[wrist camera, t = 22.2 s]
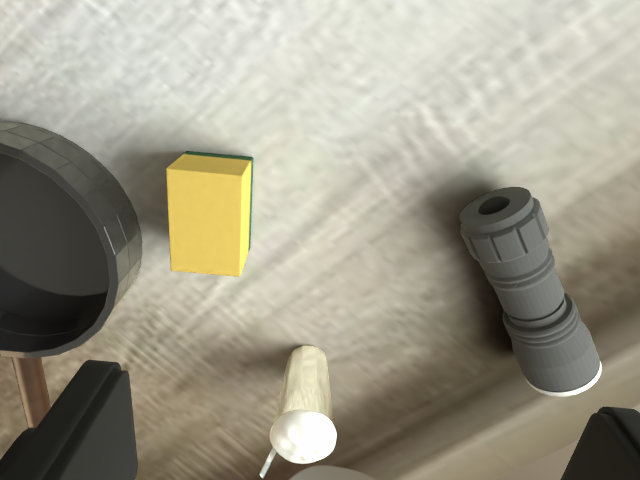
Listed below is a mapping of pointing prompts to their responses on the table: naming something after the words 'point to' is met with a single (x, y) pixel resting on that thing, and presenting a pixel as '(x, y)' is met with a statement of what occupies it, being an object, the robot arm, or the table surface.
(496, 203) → the flashlight
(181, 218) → the sponge
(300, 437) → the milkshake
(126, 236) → the pan
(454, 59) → the table surface
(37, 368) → the pan handle
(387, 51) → the table surface
